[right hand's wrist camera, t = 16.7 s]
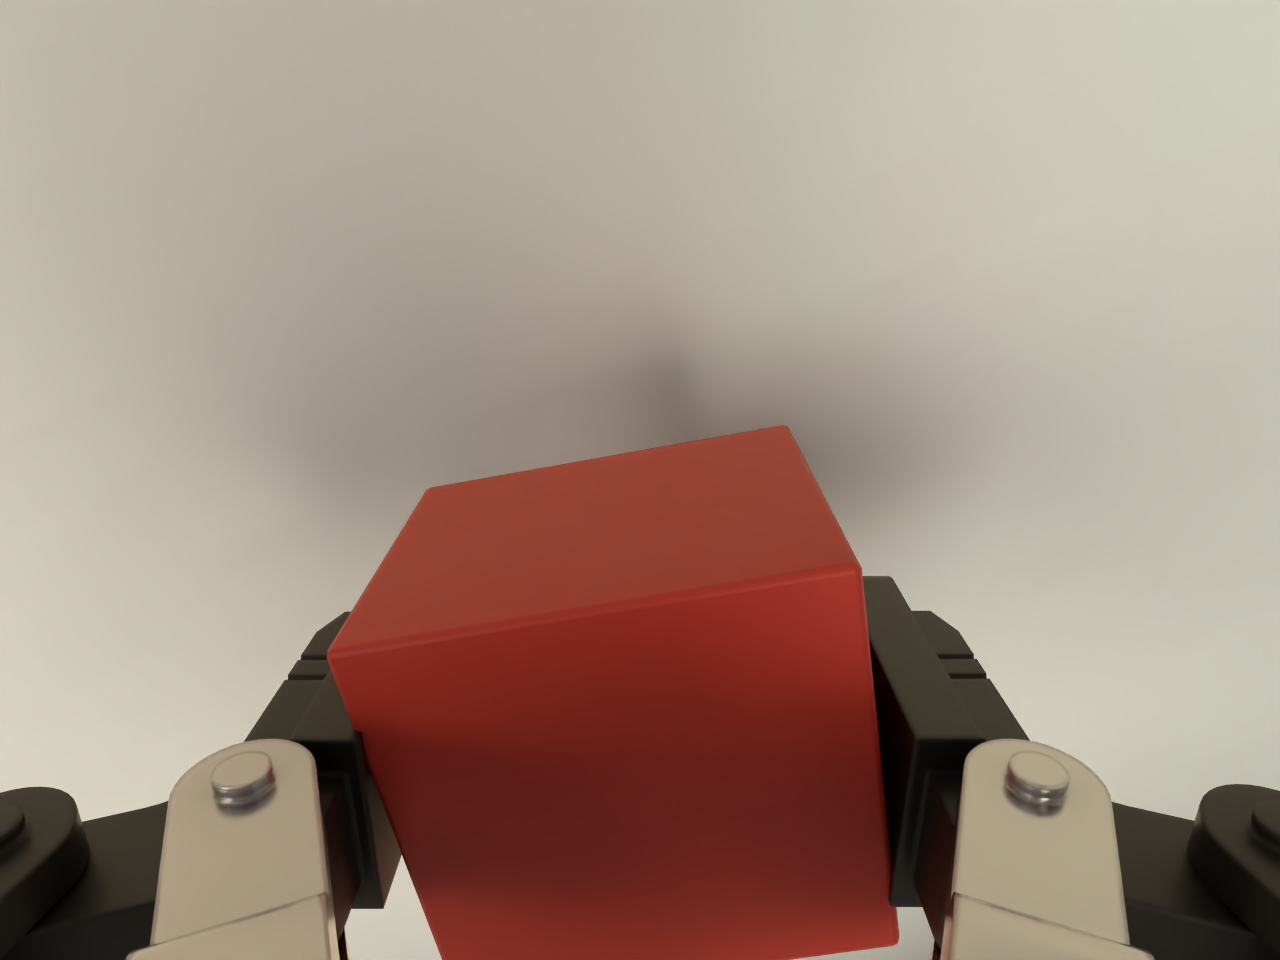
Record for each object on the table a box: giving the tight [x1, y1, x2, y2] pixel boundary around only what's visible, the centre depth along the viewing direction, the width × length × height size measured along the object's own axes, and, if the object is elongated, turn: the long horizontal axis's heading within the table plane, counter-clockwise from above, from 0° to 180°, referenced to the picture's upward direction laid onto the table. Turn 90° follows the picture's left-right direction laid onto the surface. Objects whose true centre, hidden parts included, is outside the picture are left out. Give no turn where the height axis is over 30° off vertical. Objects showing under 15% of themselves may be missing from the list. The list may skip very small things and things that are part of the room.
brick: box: [327, 425, 899, 960], centre depth 11 cm, size 5×5×4 cm
